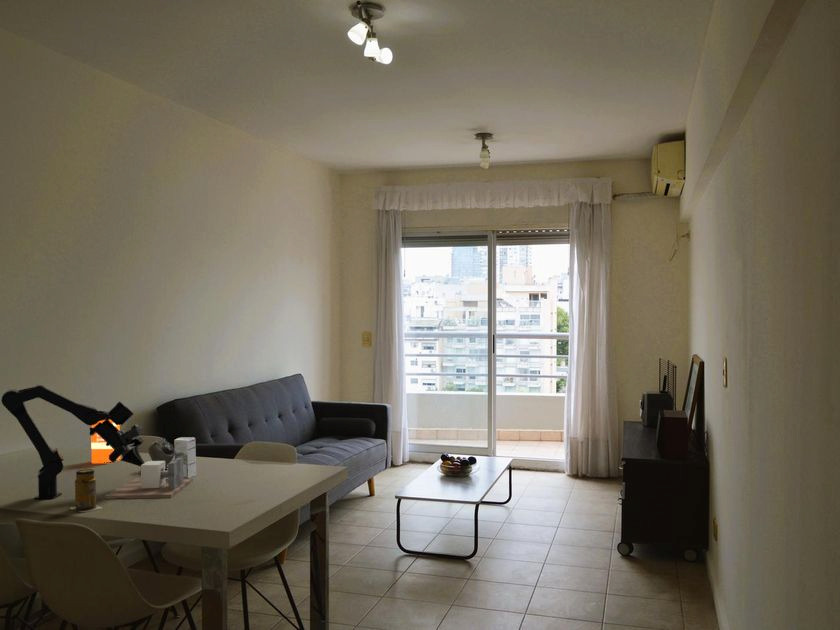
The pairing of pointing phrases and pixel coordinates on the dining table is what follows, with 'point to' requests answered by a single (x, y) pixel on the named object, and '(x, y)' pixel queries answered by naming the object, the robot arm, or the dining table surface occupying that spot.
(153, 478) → the white box with window
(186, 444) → the syrup box
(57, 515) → the dining table surface
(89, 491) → the condiment
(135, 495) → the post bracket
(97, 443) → the orange juice
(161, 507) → the dining table surface
